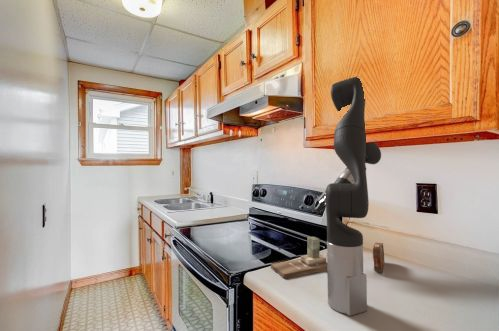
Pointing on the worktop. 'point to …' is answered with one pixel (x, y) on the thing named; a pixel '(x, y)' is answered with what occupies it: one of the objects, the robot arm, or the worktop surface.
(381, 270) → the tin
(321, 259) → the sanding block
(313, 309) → the worktop surface
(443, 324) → the worktop surface
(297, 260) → the board
